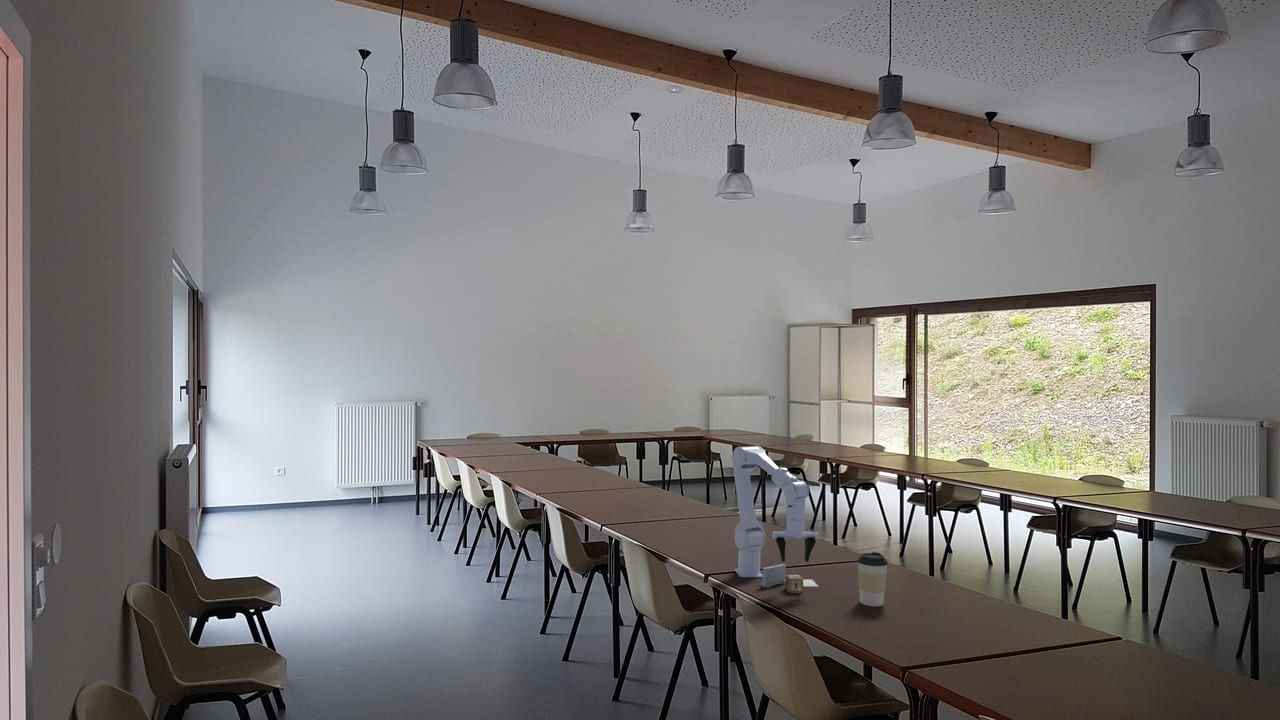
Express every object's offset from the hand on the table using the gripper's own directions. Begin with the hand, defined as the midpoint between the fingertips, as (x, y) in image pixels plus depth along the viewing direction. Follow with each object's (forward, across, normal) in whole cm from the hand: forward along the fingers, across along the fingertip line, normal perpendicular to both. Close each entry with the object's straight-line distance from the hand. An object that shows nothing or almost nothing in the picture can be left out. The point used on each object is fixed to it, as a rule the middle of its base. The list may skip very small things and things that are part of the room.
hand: (794, 560), depth 270 cm
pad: (+10, +5, +8) cm, 13 cm away
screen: (+10, -5, +7) cm, 13 cm away
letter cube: (+10, 0, 0) cm, 10 cm away
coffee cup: (+10, +21, -13) cm, 27 cm away
